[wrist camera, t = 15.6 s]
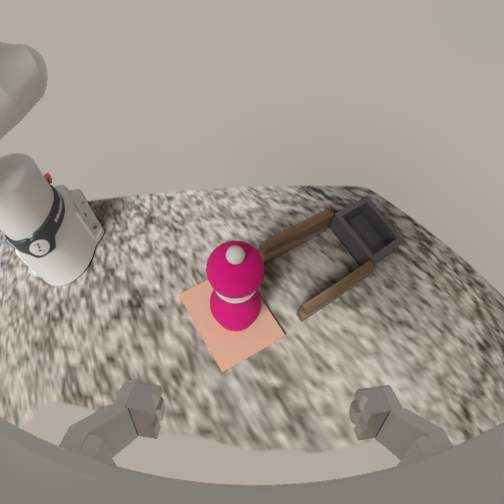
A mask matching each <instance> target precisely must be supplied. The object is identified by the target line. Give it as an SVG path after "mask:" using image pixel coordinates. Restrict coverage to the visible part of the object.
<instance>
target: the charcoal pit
mask: <svg viewBox="0 0 504 504" xmlns="http://www.w3.org/2000/svg"><path fill="white" fill-rule="evenodd" d="M329 228H330V229H331V230H332V231H333V232H334V234H335V235H336V236H337V237H338V239H339V240H340V241H341V242H342V244H343V245H344V246H345V248H346V249H347V250H348V251H349V253H350V254H351V255H352V257H353V258H354V259H355V260H356V262H357V263H358V264H359V266H360V267H361V266H362V265H364V264H365V263H366V262H368V261H369V260H370V261H371V262H372V263H373V265H375V264H376V263H378V262H379V261H380V260H382V259H383V258H384V257H386V256H387V255H389V254H390V253H391V252H393V251H394V250H395V249H396V248H397V247H398V246H399V244H400V243H401V242H402V241H403V238H402V237H401V236H400V235H399V233H398V232H397V231H396V230H395V228H394V227H393V226H392V225H391V224H390V222H389V221H388V220H387V219H386V218H385V217H384V215H383V214H382V213H381V212H380V211H379V210H378V208H377V207H376V206H375V205H374V204H373V203H372V202H371V201H370V199H369V198H368V197H366V198H364V199H362V200H360V201H358V202H356V203H354V204H352V205H350V206H348V207H347V208H345V209H343V210H341V211H339V212H337V213H335V214H334V216H333V218H332V220H331V222H330V224H329Z"/></svg>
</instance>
